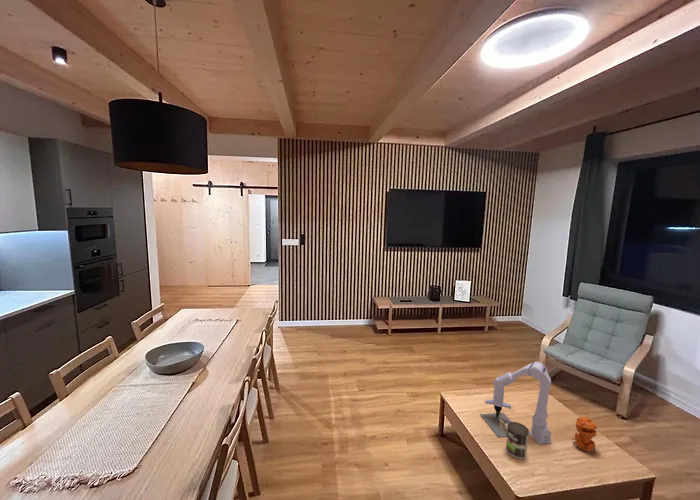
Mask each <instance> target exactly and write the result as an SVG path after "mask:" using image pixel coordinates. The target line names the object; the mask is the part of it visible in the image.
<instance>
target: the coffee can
mask: <svg viewBox="0 0 700 500" xmlns="http://www.w3.org/2000/svg"><path fill="white" fill-rule="evenodd" d="M529 432H530V430H529V428H528V427H527V426H525V425H524V424H523V423H520V422H517V421H512V422H510V423H508V431H507V437H506V446H505V449H506V452H507V453H508V454H509V455H511V456H512V457H513V458H516V459H521V460H522V459H526V458H527V456H528V443H529V436H530V434H529Z"/></svg>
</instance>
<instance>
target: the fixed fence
mask: <svg viewBox="0 0 700 500" xmlns="http://www.w3.org/2000/svg"><path fill="white" fill-rule="evenodd" d="M499 425H500V426H501V427H502V428H503V430H504V431H505V432H506V433H507V431H508V426H507V425H506V424H505V423H504V422H503V420H502V417H499Z"/></svg>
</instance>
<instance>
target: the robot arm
mask: <svg viewBox="0 0 700 500" xmlns="http://www.w3.org/2000/svg"><path fill="white" fill-rule="evenodd" d="M525 375H527V376H529V377H533V379H535V380H536V381H538V382H539V383H540V386H539V390H538V391H539V392H538V397H537V404H536V409H535V412H534V414H533V416H532V419H531V420H532V422H531V423H532V424H531V431H530V430H529V436H530V437H532V438H533V440H535V442H536V443H537V444H538V445H543V444H552V441H551V437H552V436H551V435H552V432H551V430H550V429H549V428H548V423H547V419H548V417H549V414H548V409H547V407H548V401H549V396H550V391H551V387H552V386H551V385H552V378H551V377H550V375H549V372H548V370H547V366H545V364H543V363H542V362H540V361H534V362H531V363H529V364H526V365H525V366H522V367H521V368H519V369H518V370H516V371H514V372H505V373H504V374H503V375H498V377H496V378H495V380H493V382H492V384H493V399H487V398H486V399H485V402H484V403H485V404H486V405H487V404H489V405H493V406H494V407H493V408H494V411H495V413H496V417H498V414H499V412H500V413H501V411H502V409H503V408H507V409H509V410H511V409H512V404H511V403H507V402H505V401H504V396H505V387H507V386H509V385H510V384H512V383H515V382H516V379H517V378H520V377H522V376H523V377H524V376H525Z"/></svg>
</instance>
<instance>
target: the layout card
mask: <svg viewBox="0 0 700 500" xmlns="http://www.w3.org/2000/svg"><path fill="white" fill-rule="evenodd" d="M500 413H501V417H502V420H503V422H504V423H505V424H506V425H507V426H508V423H510V422H513V421H512V420H511V419H510V418H509V417H508V416H507V415H506V413H504V412H500ZM480 417H481V418H482V419H483V421H484V422H485V423H486V424H487V426H488V427H489V428H490V429H491V431H492V432H493V433H494V434H495V436H496V437H497V438H507V433H506V432H505V431H504V430H503V428H502V427H501V426H500V425H499V418H498V417H496V412H495V413H494V412H492V413H491V412H490V413H480Z"/></svg>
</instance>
